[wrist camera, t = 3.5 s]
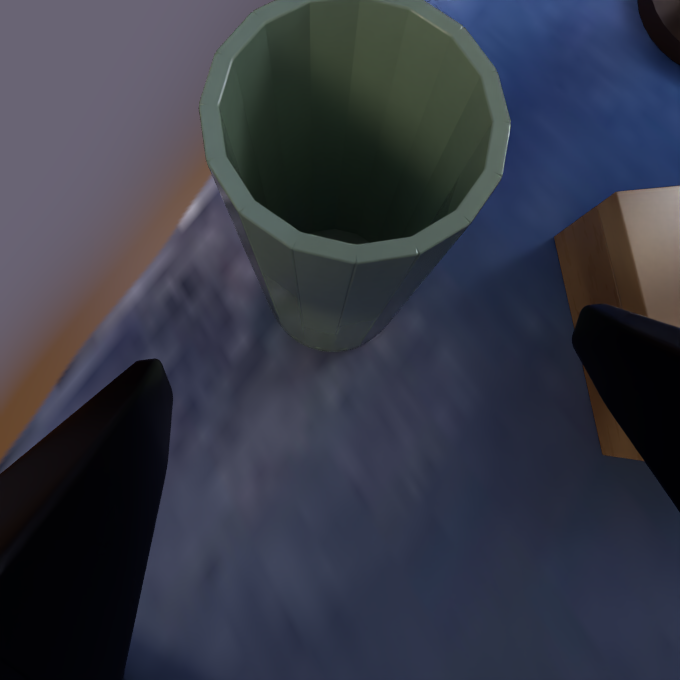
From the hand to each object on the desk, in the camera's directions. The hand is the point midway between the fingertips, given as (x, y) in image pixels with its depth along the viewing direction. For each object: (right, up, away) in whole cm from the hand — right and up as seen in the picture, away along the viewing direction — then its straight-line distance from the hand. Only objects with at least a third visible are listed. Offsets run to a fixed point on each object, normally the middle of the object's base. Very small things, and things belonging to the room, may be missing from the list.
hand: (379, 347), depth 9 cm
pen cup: (-1, +3, +12) cm, 12 cm away
